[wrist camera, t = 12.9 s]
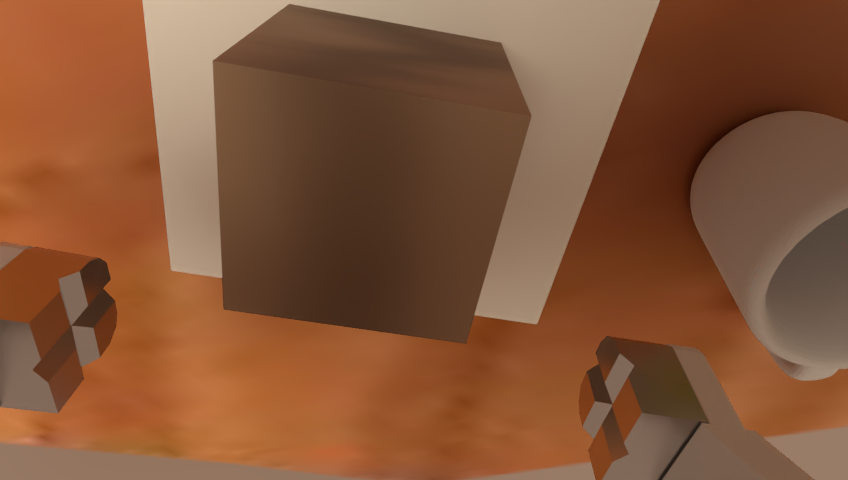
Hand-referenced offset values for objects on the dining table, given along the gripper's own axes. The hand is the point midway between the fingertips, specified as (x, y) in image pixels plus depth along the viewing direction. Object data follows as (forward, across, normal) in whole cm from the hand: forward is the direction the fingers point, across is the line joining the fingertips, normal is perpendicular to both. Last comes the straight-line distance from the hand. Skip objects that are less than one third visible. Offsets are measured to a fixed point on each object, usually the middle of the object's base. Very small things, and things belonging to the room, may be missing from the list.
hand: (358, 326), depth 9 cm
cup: (+16, -16, +3) cm, 23 cm away
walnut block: (+9, 0, 0) cm, 9 cm away
